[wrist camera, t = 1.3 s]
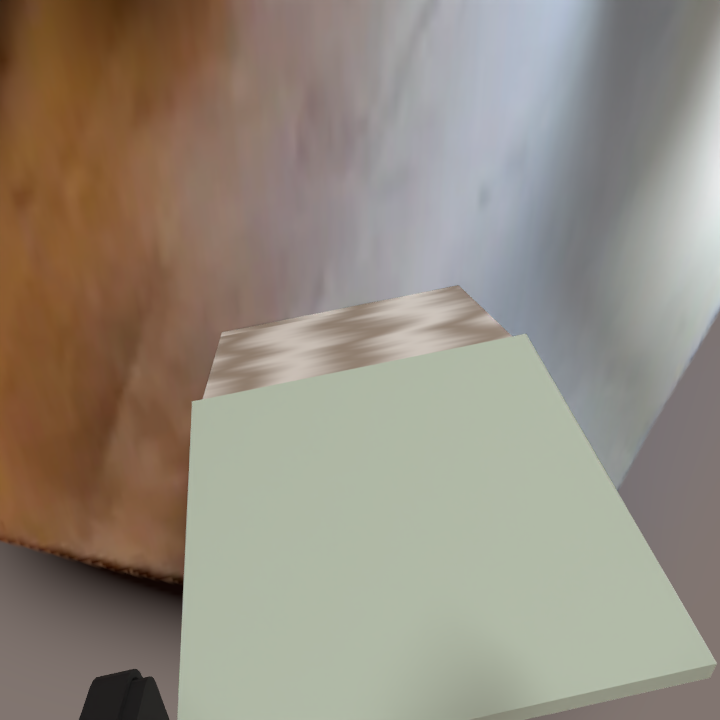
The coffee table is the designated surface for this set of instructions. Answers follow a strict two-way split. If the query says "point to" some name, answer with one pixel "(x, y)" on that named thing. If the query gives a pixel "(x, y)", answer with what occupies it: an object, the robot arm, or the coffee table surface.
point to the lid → (416, 552)
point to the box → (348, 339)
